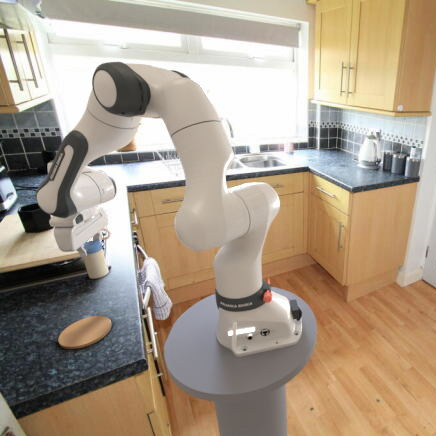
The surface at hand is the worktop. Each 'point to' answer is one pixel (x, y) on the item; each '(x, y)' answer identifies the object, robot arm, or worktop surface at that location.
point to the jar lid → (93, 246)
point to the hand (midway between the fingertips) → (91, 250)
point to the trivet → (85, 332)
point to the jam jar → (96, 264)
